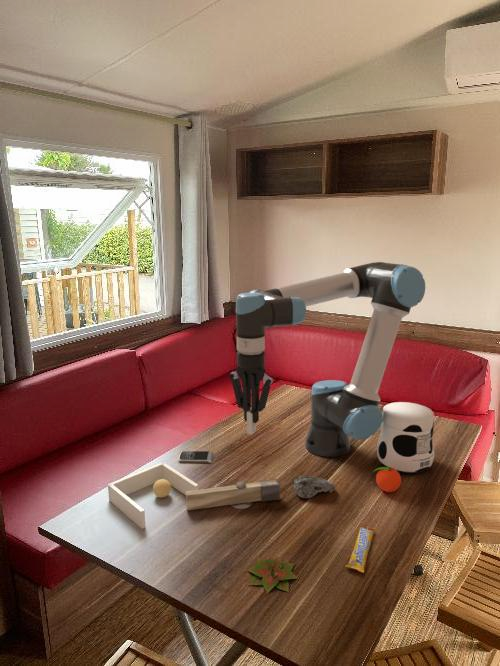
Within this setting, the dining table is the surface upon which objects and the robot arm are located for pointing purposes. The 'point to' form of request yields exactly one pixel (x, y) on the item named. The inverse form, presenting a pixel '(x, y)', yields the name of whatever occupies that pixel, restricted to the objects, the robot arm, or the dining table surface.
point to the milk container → (406, 437)
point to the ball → (161, 488)
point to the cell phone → (196, 457)
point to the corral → (140, 481)
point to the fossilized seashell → (311, 486)
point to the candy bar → (361, 549)
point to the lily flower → (272, 573)
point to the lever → (233, 494)
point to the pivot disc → (242, 505)
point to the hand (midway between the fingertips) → (251, 432)
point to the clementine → (388, 479)
